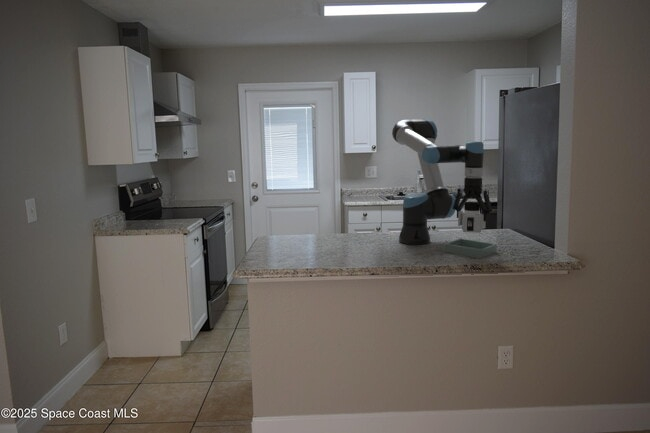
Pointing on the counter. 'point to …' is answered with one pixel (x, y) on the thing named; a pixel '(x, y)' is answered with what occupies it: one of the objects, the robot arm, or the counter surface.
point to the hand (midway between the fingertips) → (471, 226)
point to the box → (470, 248)
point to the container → (471, 217)
